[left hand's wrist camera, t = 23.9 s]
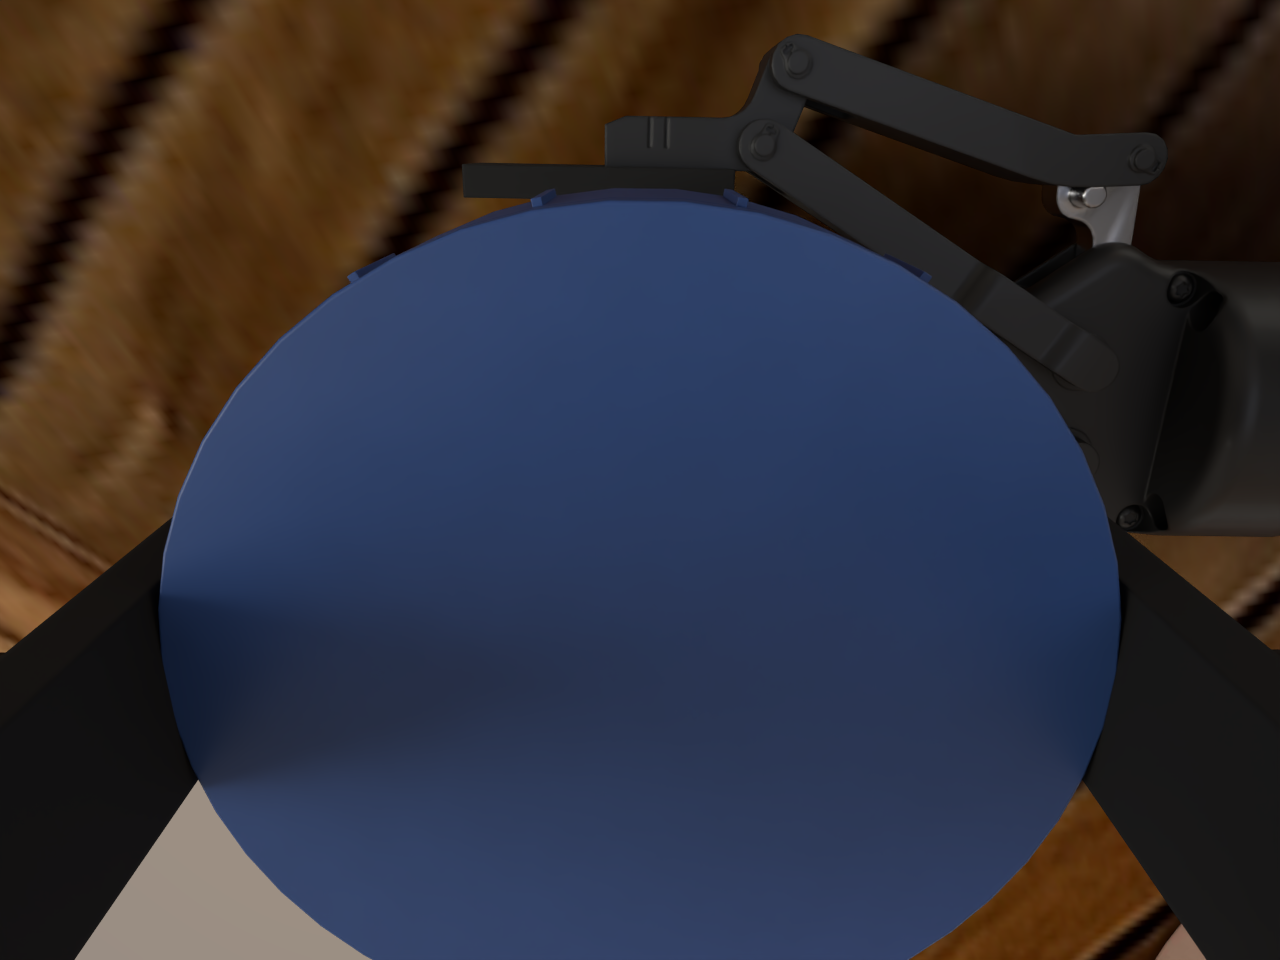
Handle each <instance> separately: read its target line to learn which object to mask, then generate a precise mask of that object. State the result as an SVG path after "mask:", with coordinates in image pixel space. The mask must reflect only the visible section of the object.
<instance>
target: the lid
mask: <svg viewBox="0 0 1280 960" xmlns="http://www.w3.org/2000/svg"><path fill="white" fill-rule="evenodd" d="M931 278H932V276H931V275H929V274H928V273H926V272H925V271H923V270H920V269H918V268H916V267H914V266H912V265H910V264H908V263H906V262H904V261H901V260H899V259H897V258H895V257H893V256H891V255H889V254H887V253H885V255H884V256H881V255H879V254H877V253H875V252H873V251H871V250H869V249H867V248H865V247H863V246H861V245H859V244H857V243H855V242H853V241H851V240H849V239H846V238H844V237H842V236H840V235H838V234H835V233H833V232H831V231H829V230H827V229H824V228H822V227H820V226H818V225H816V224H814V223H811V222H809V221H807V220H805V219H803V218H800V217H798V216H796V215H793V214H789V213H786V212H783V211H779V210H776V209H772V208H769V207H766V206H762V205H759V204H756V203H752V202H749V201H748V198H746V197H744V196H742V195H741V194H739V193H737V192H735V191H734V190H730V189H724V193H723V196H720V195H713V194H707V193H700V192H694V191H687V190H680V189H643V188H611V189H603V190H596V191H588V192H580V193H572V194H564V195H556V191H555V189H549V190H546V191H544V192H542V193H540V194H539V195H537V196H535V197H533V198H532V199H531V202H528V203H525V204H521V205H517V206H514V207H510V208H506V209H502V210H499V211H495V212H492V213H490V214H487V215H485V216H483V217H480V218H478V219H476V220H473V221H471V222H469V223H466V224H464V225H462V226H459V227H457V228H455V229H452V230H450V231H448V232H445V233H443V234H441V235H438V236H436V237H434V238H432V239H430V240H428V241H426V242H424V243H422V244H420V245H418V246H416V247H414V248H412V249H410V250H408V251H405V252H403V253H401V254H399V255H397V256H396V255H395V254H394V253H393V254H391V255H389V256H387V257H385V258H382V259H380V260H378V261H376V262H374V263H372V264H370V265H368V266H365V267H363V268H361V269H359V270H357V271H355V272H353V273H352V274H350V275H349V276H348V279H349V280H350V281H351V283H350V284H349V285H347V286H345V287H344V288H342V289H341V290H339V291H337V292H336V293H334V294H332V295H331V296H330V297H329V298H327V299H326V300H325V301H324V302H323V303H321V304H320V305H319V306H318V307H317V308H315V309H314V310H313V311H312V312H311V313H309V314H308V315H307V316H306V317H305V318H303V319H302V320H301V321H300V322H299V323H297V324H296V325H295V326H294V327H293V328H291V329H290V330H289V331H288V332H287V333H285V334H284V335H283V336H282V337H281V338H280V339H279V340H278V341H277V342H276V343H275V344H274V345H273V346H272V348H271V349H270V350H269V351H268V352H267V353H266V354H265V355H264V357H263V358H262V359H261V360H260V361H259V362H258V363H257V365H256V366H255V367H254V368H253V369H252V370H251V371H250V372H249V374H248V375H247V376H246V377H245V378H244V379H243V380H242V381H241V383H240V384H239V385H238V386H237V387H236V389H235V390H234V392H233V393H232V395H231V396H230V398H229V399H228V401H227V403H226V404H225V406H224V407H223V409H222V410H221V412H220V414H219V415H218V417H217V418H216V420H215V421H214V423H213V424H212V426H211V428H210V429H209V431H208V432H207V434H206V435H205V437H204V439H203V440H202V442H201V445H200V447H199V449H198V451H197V454H196V456H195V458H194V461H193V463H192V465H191V468H190V470H189V472H188V474H187V477H186V479H185V481H184V484H183V486H182V488H181V490H180V493H179V495H178V498H177V502H176V506H175V510H174V514H173V518H172V522H171V526H170V529H169V533H168V537H167V541H166V545H165V549H164V553H163V564H162V574H161V585H160V595H159V606H158V615H159V631H160V648H161V656H162V661H163V666H164V671H165V675H166V680H167V684H168V689H169V693H170V698H171V702H172V707H173V711H174V716H175V720H176V723H177V727H178V731H179V735H180V737H181V740H182V743H183V745H184V748H185V751H186V753H187V756H188V759H189V762H190V764H191V767H192V769H193V770H194V772H195V774H196V776H197V778H198V780H199V782H200V783H201V785H202V787H203V789H204V791H205V793H206V795H207V796H208V798H209V800H210V802H211V804H212V806H213V808H214V809H215V811H216V813H217V814H218V816H219V817H220V818H221V820H222V821H223V823H224V824H225V825H226V827H227V828H228V830H229V831H230V832H231V834H232V835H233V836H234V838H235V839H236V841H237V842H238V843H239V845H240V846H241V848H242V849H243V850H244V852H245V853H246V854H247V856H248V857H249V858H250V859H251V860H252V861H253V862H254V863H255V864H256V865H257V866H258V867H259V869H260V870H261V871H262V872H263V873H264V874H265V875H266V876H267V877H268V878H269V879H270V880H271V881H272V883H273V884H274V885H275V886H276V887H277V888H278V889H279V890H280V891H281V892H282V893H283V894H284V895H285V896H287V897H288V898H289V899H290V900H291V901H292V902H294V903H295V904H296V905H297V906H298V907H299V908H300V909H302V910H303V911H304V912H305V913H306V914H308V915H309V916H310V917H311V918H312V919H313V920H315V921H316V922H317V923H318V924H319V925H320V926H322V927H323V928H325V929H326V930H328V931H329V932H331V933H332V934H334V935H335V936H336V937H338V938H339V939H341V940H342V941H344V942H345V943H347V944H348V945H350V946H351V947H353V948H354V949H356V950H357V951H359V952H360V953H362V954H363V955H365V956H367V957H368V958H370V959H372V960H909V959H910V958H912V957H913V956H915V955H916V954H918V953H919V952H921V951H923V950H924V949H926V948H927V947H929V946H930V945H932V944H933V943H935V942H936V941H938V940H939V939H941V938H943V937H944V936H946V935H947V934H949V933H950V932H952V931H953V930H954V929H955V928H957V927H958V926H959V925H960V924H961V923H963V922H964V921H965V920H966V919H968V918H969V917H970V916H971V915H972V914H974V913H975V912H976V911H977V910H979V909H980V908H981V907H982V906H983V905H985V904H986V903H987V902H988V901H990V900H991V899H992V898H993V897H994V896H995V895H996V894H997V893H998V892H999V891H1000V890H1001V889H1002V888H1003V886H1004V885H1005V884H1006V883H1007V882H1008V881H1009V880H1010V879H1011V878H1012V877H1013V876H1014V875H1015V874H1016V873H1017V872H1018V871H1019V870H1020V869H1021V868H1022V867H1023V866H1024V865H1025V864H1026V863H1027V862H1028V860H1029V859H1030V858H1031V856H1032V855H1033V854H1034V852H1035V851H1036V850H1037V848H1038V847H1039V846H1040V844H1041V843H1042V842H1043V840H1044V839H1045V838H1046V836H1047V835H1048V834H1049V832H1050V831H1051V830H1052V829H1053V827H1054V826H1055V825H1056V823H1057V822H1058V821H1059V819H1060V817H1061V815H1062V814H1063V812H1064V810H1065V808H1066V807H1067V805H1068V803H1069V801H1070V800H1071V798H1072V796H1073V794H1074V793H1075V791H1076V789H1077V787H1078V786H1079V784H1080V782H1081V780H1082V778H1083V777H1084V775H1085V773H1086V770H1087V768H1088V765H1089V763H1090V760H1091V758H1092V755H1093V753H1094V750H1095V748H1096V745H1097V743H1098V740H1099V738H1100V735H1101V733H1102V730H1103V727H1104V722H1105V718H1106V714H1107V709H1108V705H1109V701H1110V696H1111V692H1112V688H1113V683H1114V679H1115V675H1116V670H1117V665H1118V654H1119V643H1120V631H1121V620H1122V619H1121V604H1120V589H1119V575H1118V562H1117V558H1116V553H1115V549H1114V544H1113V540H1112V536H1111V531H1110V527H1109V523H1108V518H1107V514H1106V510H1105V505H1104V503H1103V500H1102V498H1101V496H1100V493H1099V491H1098V488H1097V486H1096V483H1095V481H1094V478H1093V476H1092V473H1091V471H1090V468H1089V466H1088V463H1087V461H1086V458H1085V456H1084V453H1083V451H1082V449H1081V447H1080V446H1079V444H1078V442H1077V441H1076V439H1075V437H1074V436H1073V434H1072V432H1071V431H1070V429H1069V427H1068V426H1067V424H1066V422H1065V421H1064V419H1063V418H1062V416H1061V414H1060V413H1059V411H1058V409H1057V408H1056V406H1055V404H1054V403H1053V401H1052V399H1051V398H1050V396H1049V395H1048V394H1047V393H1046V391H1045V390H1044V389H1043V388H1042V387H1041V385H1040V384H1039V383H1038V382H1037V381H1036V379H1035V378H1034V377H1033V376H1032V375H1031V373H1030V372H1029V371H1028V370H1027V369H1026V368H1025V366H1024V365H1023V364H1022V363H1021V362H1020V360H1019V359H1018V358H1017V357H1016V356H1015V354H1014V353H1013V352H1012V351H1011V350H1010V348H1009V347H1008V346H1007V345H1006V344H1004V343H1003V342H1002V341H1001V340H1000V339H999V338H998V337H996V336H995V335H994V334H993V333H992V332H991V331H990V330H988V329H987V328H986V327H985V326H984V325H983V324H982V323H980V322H979V321H978V320H977V319H976V318H975V317H974V316H973V315H971V314H970V313H969V312H968V311H967V310H966V309H965V308H963V307H962V306H961V305H960V304H959V303H958V302H956V301H955V300H953V299H952V298H950V297H949V296H947V295H946V294H944V293H942V292H941V291H939V290H938V289H936V288H935V287H933V286H932V285H930V284H929V283H928V282H929V281H930V279H931Z"/></svg>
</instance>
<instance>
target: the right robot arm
mask: <svg viewBox="0 0 1280 960" xmlns="http://www.w3.org/2000/svg"><path fill="white" fill-rule="evenodd" d="M803 107H806V108H808V109H811V110H814V111H817V112H820V113H822V114H825V115H828V116H831V117H833V118H836V119H839V120H842V121H844V122H847V123H850V124H853V125H856V126H858V127H861V128H864V129H867V130H869V131H872V132H875V133H878V134H880V135H883V136H886V137H889V138H892V139H894V140H897V141H900V142H903V143H905V144H908V145H911V146H914V147H916V148H919V149H922V150H925V151H927V152H930V153H933V154H936V155H939V156H941V157H944V158H947V159H950V160H952V161H955V162H958V163H961V164H963V165H966V166H969V167H972V168H975V169H977V170H980V171H983V172H986V173H988V174H991V175H994V176H997V177H1000V178H1004V179H1007V180H1011V181H1016V182H1022V183H1029V184H1040V185H1043V187H1042V203H1043V206H1044V208H1045V209H1046V210H1047V212H1049V213H1050V214H1052V215H1054V216H1058V217H1062V218H1065V219H1067V220H1068V221H1070V222H1071V223H1072V225H1073V226H1074V227H1075V230H1076V233H1077V242H1076V243H1074V244H1072V245H1070V246H1068V247H1066V248H1065V249H1063V250H1062V251H1060V252H1059V253H1057V254H1055V255H1054V256H1052V257H1051V258H1049V259H1048V260H1046V261H1045V262H1043V263H1041V264H1040V265H1038V266H1037V267H1035V268H1034V269H1032V270H1031V271H1029V272H1028V273H1026V274H1024V275H1023V276H1021V277H1020V278H1018V279H1017V280H1015V281H1014V282H1013V281H1011V280H1010V279H1008V278H1007V277H1005V276H1004V275H1002V274H1001V273H999V272H997V271H996V270H994V269H992V268H991V267H989V266H987V265H985V264H983V263H982V262H980V261H978V260H977V259H975V258H974V257H973V256H971V255H970V254H968V253H967V252H965V251H964V250H962V249H961V248H960V247H958V246H957V245H955V244H954V243H952V242H951V241H949V240H948V239H947V238H945V237H944V236H942V235H941V234H939V233H938V232H936V231H935V230H934V229H932V228H931V227H929V226H928V225H926V224H925V223H923V222H922V221H921V220H919V219H918V218H916V217H915V216H913V215H912V214H910V213H909V212H907V211H906V210H905V209H903V208H902V207H900V206H899V205H897V204H896V203H894V202H893V201H892V200H890V199H889V198H887V197H886V196H884V195H883V194H881V193H880V192H879V191H877V190H876V189H874V188H873V187H871V186H870V185H868V184H867V183H866V182H864V181H863V180H861V179H860V178H858V177H857V176H855V175H854V174H853V173H851V172H850V171H848V170H847V169H845V168H844V167H842V166H841V165H840V164H838V163H837V162H835V161H834V160H832V159H831V158H829V157H828V156H827V155H825V154H824V153H822V152H821V151H819V150H818V149H816V148H815V147H813V146H812V145H811V144H809V143H808V142H806V141H805V140H803V139H802V138H800V137H799V136H798V135H796V134H795V133H793V132H794V129H795V127H796V124H797V122H798V120H799V117H800V115H801V112H802V110H803ZM1167 159H1168V151H1167V146H1166V144H1165V142H1164V140H1163V139H1162V138H1160V137H1159V136H1158V135H1156V134H1152V133H1147V132H1146V133H1118V134H1090V135H1075V134H1072V133H1069V132H1066V131H1064V130H1061V129H1058V128H1056V127H1053V126H1050V125H1048V124H1045V123H1042V122H1039V121H1037V120H1034V119H1031V118H1029V117H1026V116H1023V115H1021V114H1018V113H1015V112H1013V111H1010V110H1007V109H1004V108H1002V107H999V106H996V105H994V104H991V103H988V102H986V101H983V100H980V99H978V98H975V97H972V96H969V95H967V94H964V93H961V92H959V91H956V90H953V89H951V88H948V87H945V86H943V85H940V84H937V83H934V82H932V81H929V80H926V79H924V78H921V77H918V76H916V75H913V74H910V73H907V72H905V71H902V70H899V69H897V68H894V67H891V66H889V65H886V64H883V63H881V62H878V61H875V60H872V59H870V58H867V57H864V56H862V55H859V54H856V53H854V52H851V51H848V50H846V49H843V48H840V47H837V46H835V45H832V44H829V43H827V42H824V41H821V40H819V39H816V38H813V37H810V36H808V35H801V34H795V35H792V36H789V37H787V38H785V39H784V40H783V41H781V42H779V43H778V44H777V45H775V46H774V47H773V48H772V49H771V50H770V51H768V52H767V53H766V54H765V55H764V57H763V58H762V60H761V62H760V65H759V71H758V74H757V76H756V79H755V81H754V84H753V87H752V89H751V92H750V94H749V97H748V99H747V101H746V103H745V105H744V106H743V107H742V108H741V109H740V111H739V112H737V113H736V114H734V115H733V116H731V117H725V118H706V117H655V116H625V117H622V118H620V119H617V120H615V121H612V122H610V123H607V124H605V165H567V164H515V163H472V164H462V172H463V192H464V197H470V198H524V199H532V198H533V197H535V196H537V195H539V194H540V193H542V192H544V191H546V190H549V189H555V191H556V195H564V194H572V193H580V192H588V191H596V190H603V189H611V188H643V189H680V190H687V191H694V192H700V193H707V194H713V195H720V196H723V193H724V189H730V190H734V182H735V171H746V172H748V173H749V174H751V175H752V176H754V177H755V178H757V179H758V180H760V181H761V182H763V183H764V184H766V185H767V186H769V187H770V188H772V189H773V190H775V191H776V192H778V193H779V194H781V195H782V196H784V197H785V198H787V199H788V200H790V201H791V202H793V203H794V204H795V205H797V206H798V207H800V208H801V209H803V210H804V211H806V212H807V213H809V214H810V215H812V216H813V217H815V218H816V219H818V220H819V221H821V222H822V223H824V224H825V225H827V226H828V227H830V228H831V229H833V230H834V231H836V232H837V233H839V234H840V235H842V236H843V237H845V238H846V239H849V240H851V241H853V242H855V243H857V244H859V245H861V246H863V247H865V248H867V249H869V250H871V251H873V252H875V253H877V254H879V255H881V256H884V255H885V253H887V254H889V255H891V256H893V257H895V258H897V259H899V260H901V261H904V262H906V263H908V264H910V265H912V266H914V267H916V268H918V269H920V270H923V271H925V272H926V273H928V274H929V275H931V276H932V278H931V279H930V281H929V282H928V283H929V284H930V285H932V286H933V287H935V288H936V289H938V290H939V291H941V292H942V293H944V294H946V295H947V296H949V297H950V298H952V299H953V300H955V301H956V302H958V303H959V304H960V305H961V306H962V307H963V308H965V309H966V310H967V311H968V312H969V313H970V314H971V315H973V316H974V317H975V318H976V319H977V320H978V321H979V322H980V323H982V324H983V325H984V326H985V327H986V328H987V329H988V330H990V331H991V332H992V333H993V334H994V335H995V336H996V337H998V338H999V339H1000V340H1001V341H1002V342H1003V343H1004V344H1006V345H1007V346H1008V347H1009V348H1010V350H1011V351H1012V352H1013V353H1014V354H1015V356H1016V357H1017V358H1018V359H1019V360H1020V362H1021V363H1022V364H1023V365H1024V366H1025V368H1026V369H1027V370H1028V371H1029V372H1030V373H1031V375H1032V376H1033V377H1034V378H1035V379H1036V381H1037V382H1038V383H1039V384H1040V385H1041V387H1042V388H1043V389H1044V390H1045V391H1046V393H1047V394H1048V395H1049V396H1050V398H1051V399H1052V401H1053V403H1054V404H1055V406H1056V408H1057V409H1058V411H1059V413H1060V414H1061V416H1062V418H1063V419H1064V421H1065V422H1066V424H1067V426H1068V427H1069V429H1070V431H1071V432H1072V434H1073V436H1074V437H1075V439H1076V441H1077V442H1078V444H1079V446H1080V447H1081V449H1082V451H1083V453H1084V456H1085V458H1086V461H1087V463H1088V466H1089V468H1090V471H1091V473H1092V476H1093V478H1094V481H1095V483H1096V486H1097V488H1098V491H1099V493H1100V496H1101V498H1102V500H1103V503H1104V505H1105V510H1106V514H1107V517H1109V518H1110V519H1111V520H1112V521H1114V522H1115V523H1116V524H1117V525H1118V526H1120V527H1121V528H1122V529H1123V530H1125V531H1126V532H1130V533H1139V534H1150V535H1174V536H1250V537H1273V536H1279V535H1280V262H1247V261H1189V260H1156V259H1153V258H1151V257H1149V256H1148V255H1146V254H1145V253H1143V252H1142V251H1140V250H1139V249H1138V248H1136V247H1134V246H1132V245H1131V243H1132V236H1133V230H1134V223H1135V217H1136V210H1137V204H1138V197H1139V191H1140V185H1144V184H1148V183H1150V182H1151V181H1153V180H1154V179H1156V178H1157V177H1158V176H1159V175H1160V173H1161V172H1162V171H1163V169H1164V168H1165V165H1166V162H1167Z"/></svg>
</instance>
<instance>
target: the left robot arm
mask: <svg viewBox="0 0 1280 960" xmlns="http://www.w3.org/2000/svg"><path fill="white" fill-rule="evenodd" d="M172 518H173V517H172ZM172 518H171V519H170V520H168V521H167V522H166V523H165V524H163V525H162V526H161V527H160V528H158V529H157V530H156V531H155V532H154V533H152V534H151V535H150V536H149V537H147V538H146V539H145V540H144V541H142V542H141V543H140V544H139V545H138V546H136V547H135V548H134V549H133V550H131V551H130V552H129V553H128V554H126V555H125V556H124V557H123V558H122V559H120V560H119V561H118V562H117V563H115V564H114V565H113V566H112V567H111V568H109V569H108V570H107V571H106V572H104V573H103V574H102V575H101V576H99V577H98V578H97V579H96V580H95V581H93V582H92V583H91V584H90V585H88V586H87V587H86V588H85V589H83V590H82V591H81V592H80V593H79V594H77V595H76V596H75V597H74V598H72V599H71V600H70V601H69V602H67V603H66V604H65V605H64V606H63V607H61V608H60V609H59V610H58V611H56V612H55V613H54V614H53V615H51V616H50V617H49V618H48V619H47V620H45V621H44V622H43V623H42V624H40V625H39V626H38V627H37V628H35V629H34V630H33V631H32V632H31V633H29V634H28V635H27V636H26V637H24V638H23V639H22V640H21V641H19V642H18V643H17V644H16V645H15V646H13V647H12V648H11V649H10V650H8V651H7V652H6V653H0V960H75V958H76V957H77V955H78V954H79V952H80V951H81V949H82V948H83V946H84V945H85V943H86V942H87V941H88V939H89V938H90V936H91V935H92V933H93V932H94V930H95V929H96V927H97V926H98V925H99V923H100V922H101V920H102V919H103V917H104V916H105V914H106V913H107V911H108V910H109V909H110V907H111V906H112V904H113V903H114V901H115V900H116V898H117V897H118V896H119V894H120V893H121V891H122V890H123V888H124V887H125V885H126V884H127V882H128V881H129V879H130V878H131V877H132V875H133V874H134V872H135V871H136V869H137V868H138V866H139V865H140V863H141V862H142V861H143V859H144V858H145V856H146V855H147V853H148V852H149V850H150V849H151V847H152V846H153V845H154V843H155V842H156V840H157V839H158V837H159V836H160V834H161V833H162V832H163V830H164V829H165V827H166V826H167V824H168V823H169V821H170V820H171V818H172V817H173V815H174V814H175V813H176V811H177V810H178V808H179V807H180V805H181V804H182V802H183V801H184V799H185V798H186V797H187V795H188V794H189V792H190V791H191V789H192V788H193V786H194V785H195V784H196V782H197V781H198V778H197V776H196V774H195V772H194V770H193V769H192V767H191V764H190V762H189V759H188V756H187V753H186V751H185V748H184V745H183V743H182V740H181V737H180V735H179V731H178V727H177V723H176V720H175V716H174V711H173V707H172V702H171V698H170V693H169V689H168V684H167V680H166V675H165V671H164V666H163V661H162V656H161V648H160V631H159V615H158V606H159V595H160V585H161V574H162V564H163V553H164V549H165V545H166V541H167V537H168V533H169V529H170V526H171V522H172ZM1107 518H1108V523H1109V527H1110V531H1111V536H1112V540H1113V544H1114V549H1115V553H1116V558H1117V562H1118V575H1119V589H1120V604H1121V619H1122V620H1121V631H1120V643H1119V654H1118V665H1117V670H1116V675H1115V679H1114V683H1113V688H1112V692H1111V696H1110V701H1109V705H1108V709H1107V714H1106V718H1105V722H1104V727H1103V730H1102V733H1101V735H1100V738H1099V740H1098V743H1097V745H1096V748H1095V750H1094V753H1093V755H1092V758H1091V760H1090V763H1089V765H1088V768H1087V770H1086V773H1085V775H1084V777H1083V778H1082V780H1083V781H1084V783H1085V784H1086V786H1087V787H1088V788H1089V790H1090V791H1091V793H1092V794H1093V796H1094V797H1095V799H1096V800H1097V802H1098V803H1099V804H1100V806H1101V807H1102V809H1103V810H1104V812H1105V813H1106V815H1107V816H1108V818H1109V819H1110V820H1111V822H1112V823H1113V825H1114V826H1115V828H1116V829H1117V831H1118V832H1119V834H1120V835H1121V836H1122V838H1123V839H1124V841H1125V842H1126V844H1127V845H1128V847H1129V848H1130V850H1131V851H1132V852H1133V854H1134V855H1135V857H1136V858H1137V860H1138V861H1139V863H1140V864H1141V866H1142V867H1143V868H1144V870H1145V871H1146V873H1147V874H1148V876H1149V877H1150V879H1151V880H1152V882H1153V883H1154V884H1155V886H1156V887H1157V889H1158V890H1159V892H1160V893H1161V895H1162V896H1163V898H1164V899H1165V900H1166V902H1167V903H1168V905H1169V906H1170V908H1171V909H1172V911H1173V912H1174V914H1175V915H1176V916H1177V918H1178V919H1179V921H1180V922H1181V924H1182V925H1183V927H1184V928H1185V930H1186V931H1187V932H1188V934H1189V935H1190V937H1191V938H1192V940H1193V941H1194V943H1195V944H1196V946H1197V947H1198V948H1199V950H1200V951H1201V953H1202V954H1203V956H1204V957H1205V959H1206V960H1280V650H1271V649H1270V648H1269V647H1267V646H1266V645H1265V644H1264V643H1262V642H1261V641H1260V640H1259V639H1257V638H1256V637H1255V636H1254V635H1253V634H1251V633H1250V632H1249V631H1248V630H1246V629H1245V628H1244V627H1243V626H1241V625H1240V624H1239V623H1238V622H1237V621H1235V620H1234V619H1233V618H1232V617H1230V616H1229V615H1228V614H1227V613H1225V612H1224V611H1223V610H1222V609H1221V608H1219V607H1218V606H1217V605H1216V604H1214V603H1213V602H1212V601H1211V600H1209V599H1208V598H1207V597H1206V596H1205V595H1203V594H1202V593H1201V592H1200V591H1198V590H1197V589H1196V588H1195V587H1194V586H1192V585H1191V584H1190V583H1189V582H1187V581H1186V580H1185V579H1184V578H1182V577H1181V576H1180V575H1179V574H1178V573H1176V572H1175V571H1174V570H1173V569H1171V568H1170V567H1169V566H1168V565H1166V564H1165V563H1164V562H1163V561H1162V560H1160V559H1159V558H1158V557H1157V556H1155V555H1154V554H1153V553H1152V552H1150V551H1149V550H1148V549H1147V548H1146V547H1144V546H1143V545H1142V544H1141V543H1139V542H1138V541H1137V540H1136V539H1134V538H1133V537H1132V536H1131V535H1130V534H1128V533H1127V532H1126V531H1125V530H1123V529H1122V528H1121V527H1120V526H1118V525H1117V524H1116V523H1115V522H1114V521H1112V520H1111V519H1110V518H1109V517H1107Z"/></svg>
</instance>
